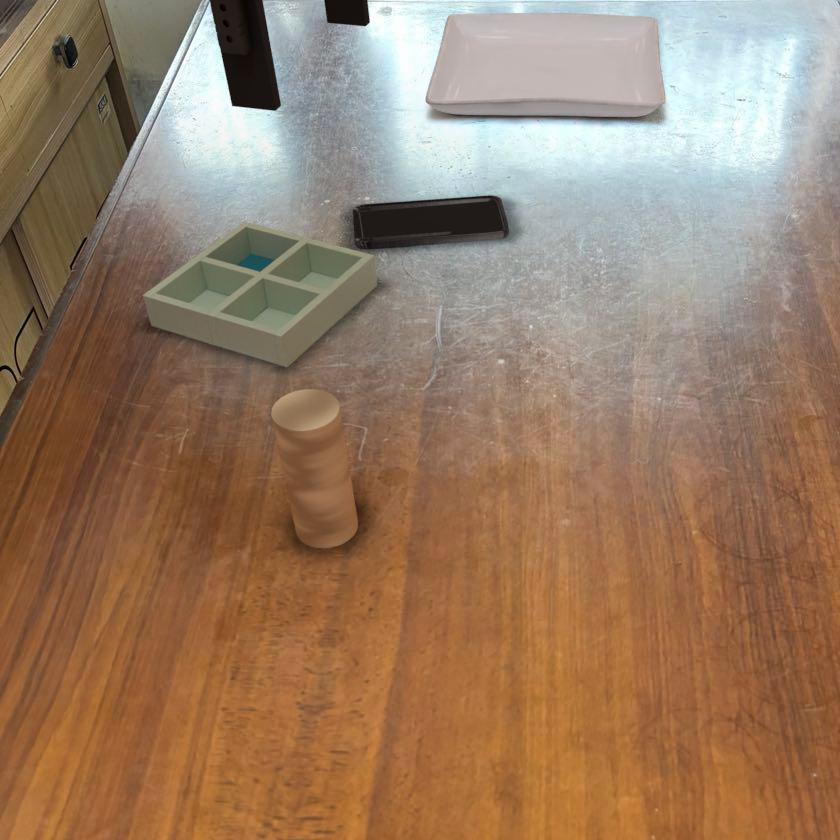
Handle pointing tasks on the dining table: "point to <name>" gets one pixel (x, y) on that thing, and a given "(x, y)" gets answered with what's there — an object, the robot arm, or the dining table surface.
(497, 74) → the square plate
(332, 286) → the grid
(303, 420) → the tan wooden cylinder
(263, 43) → the robot arm
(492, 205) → the phone
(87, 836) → the dining table surface
